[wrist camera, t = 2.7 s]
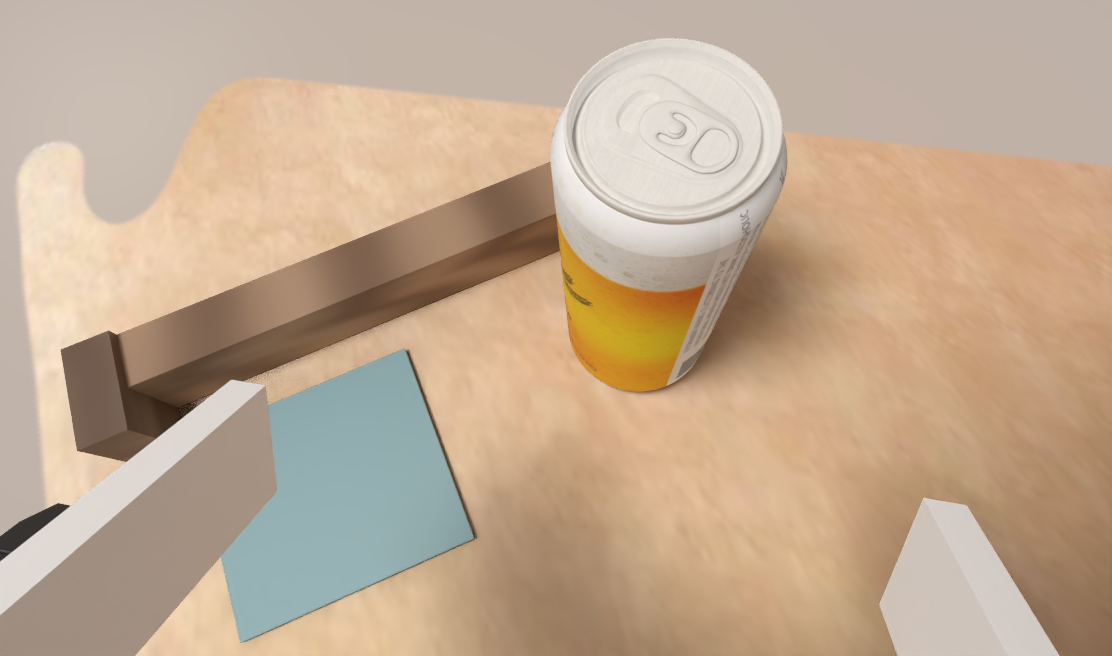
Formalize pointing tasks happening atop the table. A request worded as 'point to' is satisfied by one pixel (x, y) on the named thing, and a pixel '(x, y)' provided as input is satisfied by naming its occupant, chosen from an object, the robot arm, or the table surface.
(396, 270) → the brown l-shaped hook tool
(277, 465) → the pad
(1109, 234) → the table surface
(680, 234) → the orange soda can
